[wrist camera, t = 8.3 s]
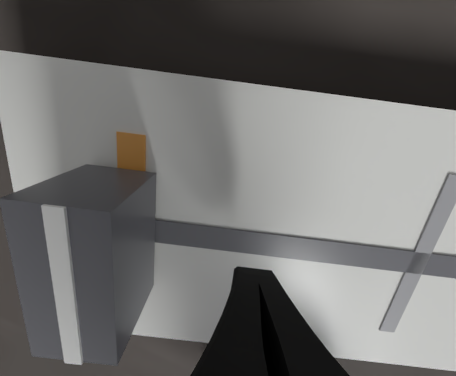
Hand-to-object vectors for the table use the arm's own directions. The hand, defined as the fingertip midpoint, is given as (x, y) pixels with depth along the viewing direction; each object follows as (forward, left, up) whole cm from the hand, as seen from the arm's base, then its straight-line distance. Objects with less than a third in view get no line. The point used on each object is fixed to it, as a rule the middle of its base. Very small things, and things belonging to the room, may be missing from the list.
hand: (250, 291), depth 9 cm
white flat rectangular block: (0, -1, -6) cm, 6 cm away
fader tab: (0, +6, -3) cm, 7 cm away
